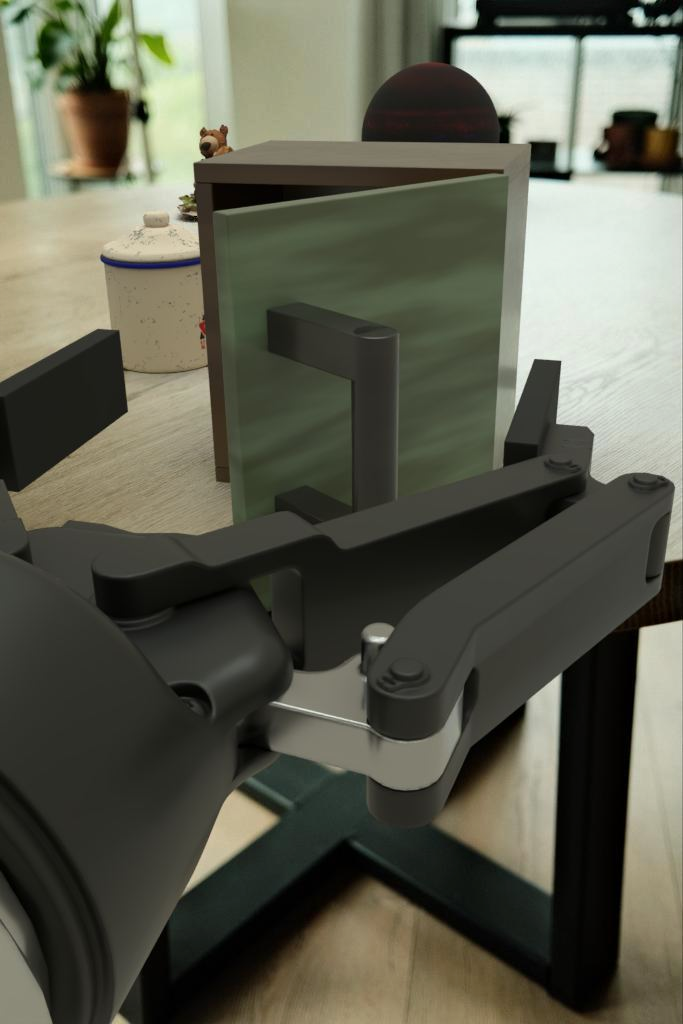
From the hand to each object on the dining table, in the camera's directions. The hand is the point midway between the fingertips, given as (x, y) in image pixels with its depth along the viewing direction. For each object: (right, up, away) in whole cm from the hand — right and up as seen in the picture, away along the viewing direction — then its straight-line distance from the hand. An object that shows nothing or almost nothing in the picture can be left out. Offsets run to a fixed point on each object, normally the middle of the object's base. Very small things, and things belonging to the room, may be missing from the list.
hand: (317, 386), depth 31 cm
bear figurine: (-16, +40, +118) cm, 126 cm away
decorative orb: (+14, +42, +122) cm, 129 cm away
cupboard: (+3, 0, +32) cm, 32 cm away
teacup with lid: (-14, +9, +54) cm, 56 cm away
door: (+5, -7, +18) cm, 19 cm away
